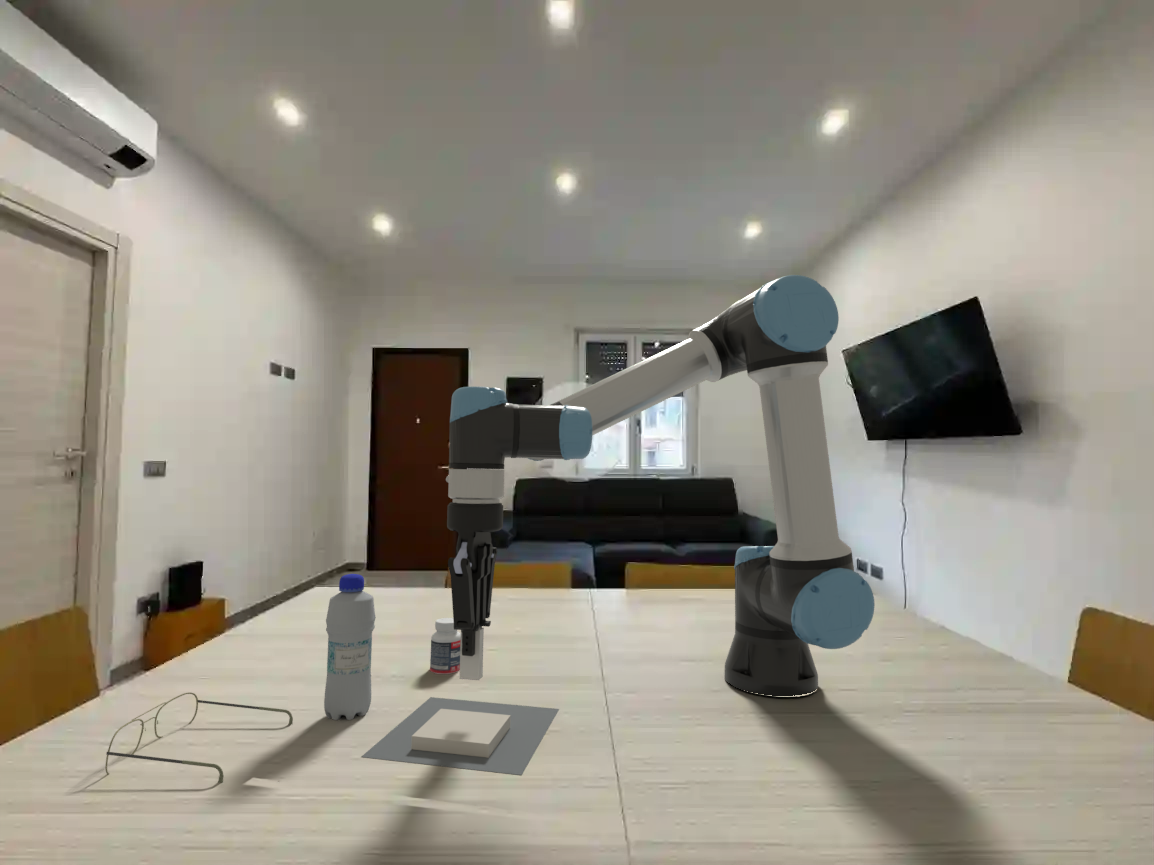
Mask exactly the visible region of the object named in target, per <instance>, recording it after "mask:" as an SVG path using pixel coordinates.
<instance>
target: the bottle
mask: <svg viewBox="0 0 1154 865" xmlns="http://www.w3.org/2000/svg"><path fill="white" fill-rule="evenodd" d="M364 589H365V579H364V576H363V575H361V574H356V573H348V574H344V575H342V576H341V578H340V579H339V583H338V591H340V592H339V593H337V594H335V595H333V596H331V597H330V599H329V601H328V608H327V614H326V619H325V623H326V624H325V625H326V629H325V630H326V631H325V632H326V633H327V637H328V638H327V642H328V643H327V658H326V659H327V660H326V661H327V663H326V682H325V689H324V700H323V708H324V713H325V716H326V718H327V719H329V720H333V721H338V720H340V719H341V718H342V716H345V719H346V720H347V721H348V720H353V719H354V717H355V716H356V715H357V716H360V717H363V716H366V714H367V712H368V711H369V709H370V706H371V704H372V703H371V702H372V672H371V671H372V650H373V649H372V647H373V646H372V645H373V632H374V629H375V626H376V625H375V622H376V613H375V612H376V610H375V599H374V596H373V595H372V594H370V593H368V592H366V591H364Z"/></svg>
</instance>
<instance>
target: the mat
mask: <svg viewBox="0 0 1154 865" xmlns="http://www.w3.org/2000/svg"><path fill="white" fill-rule="evenodd" d="M440 709H450V710H461V711H471V712H482V713H492V714H503V715H511V719H510V729H509V730H508V731H507V733H506V734H505V735H504V737H503V738H502V740H501V741H500V742H499V744H498V745H497V747H496V748H495V749H494V751H493V752H492V754H491V755H490V756H489V758H486V757H477V756H468V755H459V754H450V753H441V752H432V751H422V750H413V749H411V743H412V735H413V734H414V733H415V732H417V731H418V730H419V729H420V728H421V727H422V726H423V725H424V724H425V723H426V722H427V721H428V720H429V719H430V718H431V717H433V716H434V715H435V714H436V713H437V712H438V711H439V710H440ZM559 710H560V708H555V707H554V708H553V707H544V706H541V707H540V706H532V705H531V706H530V705H520V704H519V705H518V704H511V703H497V702H487V701H478V700H477V701H476V700H465V699H454V698H443V697H434V696H433V697H432V696H430V697H429V698H427V699H426V701H424V702H423V703H422V704H420V706H418V707H417V708H416V709H415V710H414V711H413V712H412V713H410V714H409V715H408V716H407V717H406V718H404V719H403V720H402V721H401V722H400V723H398V725H397V726H395V727H394V728H393V729H392V730H390V732H388V733H387V734H386V735H385V736H384V737H382V738H381V739H380V740H379V741H377V743H375V744H374V745H373V746H371V747H370V748H369V749H368V750H367V751H366V752H365V753H363V755H361V757H360V758H366V759H375V760H383V761H392V762H401V763H408V764H409V763H410V764H420V765H426V766H436V767H445V768H451V769H452V768H453V769H454V768H456V769H463V770H471V771H480V772H488V773H499V774H505V775H507V774H508V775H515V776H522V775H524V772H525V770H526V768H527V766H528V765H529V763H530V761H531V759H532V758H533V756H534V754H535V752H536V751H537V749H538V747H539V745H540V744H541V742H542V740H543V739H544V737H545V735H546V733H547V731H548V730H549V728H550V726H551V724H552V723H553V721H554V719H555V717H556V716H557V714H558V712H559Z"/></svg>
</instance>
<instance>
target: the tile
mask: <svg viewBox="0 0 1154 865" xmlns="http://www.w3.org/2000/svg"><path fill="white" fill-rule="evenodd" d="M510 719H511V715H503V714H492V713H482V712H471V711H461V710H450V709H440V710H439V711H438V712H437V713H436V714H435V715H434V716H433V717H431V718H430V719H429V720H428V721H427V722H426V723H425V724H424V725H423V726H422V727H421V728H420V729H419V730H418V731H417V732H415V733H414V734H413V735H412V743H411V749H413V750H422V751H432V752H441V753H450V754H459V755H468V756H477V757H486V758H489V756H490V755H491V754H492V752H493V751H494V749H495V748H496V747H497V745H498V744H499V742H500V741H501V740H502V738H503V737H504V735H505V734H506V733H507V731H508V730H509V729H510Z"/></svg>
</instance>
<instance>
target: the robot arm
mask: <svg viewBox="0 0 1154 865" xmlns="http://www.w3.org/2000/svg"><path fill="white" fill-rule="evenodd" d="M839 318H840V317H839V309H838V306H837V305H836V301H835V300H834V297H833V295H832V294H831V293H830V291H829V290H828V289H827V288H826V287H824V286H823V285H821V284H820V283H819V282H818V281H817V280H815V279H813V278H811V277H808V276H806V275H802V274H800V275H799V274H788V275H785V276H782V277H778V278H776V279H774V280H770V281H768V282H766V283H764V284H763V285H761V287H759V288H758V289H756V290H755V291H753V292H752V293H750V294H748V295H746V296H745V297H743V298H741V299H739V300H737V301H736V302H735V303H733V304H731V305H730V306H729V307H728V308H726V309H725V310H723V311H722V312H721V313H720V314H718V315H717V316H715V317H714V318H712V319H711V320H709V321H707V322H706V323H704V324H703V325H701V326H699V327H696V328H695V329H694V328H693V329H692V330H691V331H689V332H688V336H687V339H685V340H683V341H682V342H680V343H676V344H675V345H673V346H671V347H669V348H667V349H664V350H662V351H661V352H658V353H656V354H654V355H652V356H649V357H646V359H644V360H642V361H639V362H637V363H635V364H633V365H631V366H628V367H627V368H625V369H623V370H620V371H618V372H616V373H614V374H612V375H610V376H608V377H605V378H603V379H600V380H599V381H597V382H595V383H593V384H591V385H589V386H587V387H584V388H582V389H581V390H579V391H576V392H573V393H572V394H570V395H567V396H566V397H564V398H561V399H559V400H557V401H556V402H554V403H551V404H549V405H544V404H542V405H541V404H517V403H510V402H508V399H507V393H506V391H505V390H503V389H502V388H498V387H490V386H463V387H459V388H457V389H456V390H454V391H453V393H452V396H451V401H450V402H451V404H450V416H449V443H448V444H449V446H448V448H449V450H448V452H449V454H448V455H449V456H448V463H449V464H448V475H447V476H446V478H445V481H446V483H448V491H447V492H448V494H447V496H448V498H450V500H451V499H452V502H451V501H450V502H449V503H448V504H447V508H446V509H447V511H446V516H447V518H446V527H447V529H448V530H450V531H452V532H457V533H458V537H457V542H456V545H455V557H449V558H448V560H447V567H448V572H449V575H450V583H451V585H450V587H451V588H450V589H451V601H452V602H451V603H452V604H451V605H452V616H453V617H452V618H453V619H454V630H457V631H458V630H459V631H460V633H461V642H460V670H459V676H458V677H459V679H460V680H469V681H480V680H481V679H482V678H483V674H484V673H483V672H484V671H483V669H484V668H483V667H484V639H485V638H484V637H485V636H484V633H485V627H488V628H489V627H490V626H491V623H492V621H491V620H487V619H489V618H490V616H491V607H492V596H493V586H494V575H495V567H496V566H495V564H496V560H497V556H498V548H497V547H494V546H493V543H492V536H491V534H492V532H498V531H500V530H502V529H503V527H504V504H503V503H502V502H500V500H502V499H503V498H505V459H506V458H511V459H517V458H519V459H528V460H532V461H535V462H541V461H543V460H564V461H570V460H580V459H581V460H583V459H585V458H587V457H588V456H589V454H590V452H591V448H592V444H593V436H595V435H596V434H599V433H601V432H603V431H604V430H607V429H608V428H611V427H613V426H615V425H617V424H620V423H621V422H624V421H625V420H627V419H630V418H631V417H633V416H635V415H638V414H639V413H641V412H644V411H646V410H648V409H650V408H652V407H654V406H656V405H658V404H659V403H662V402H664V401H666V400H668V399H670V398H672V397H674V396H677V395H679V394H681V393H683V392H684V391H686V390H688V389H690V388H691V389H692V388H693V387H696V386H697V385H699V384H702V383H703V382H705V381H708V382H710V383H716V382H718V381H721V380H722V379H725V378H726V377H729V376H732V375H735V374H739V373H742V372H745V371H747V377H748V378H750V379H751V380H752V381H754V382H755V383H756V384H757V385H758V386H759V394H760V403H761V404H760V405H761V412H762V418H763V427H764V428H763V429H764V435H765V444H766V451H767V460H768V468H769V477H770V485H771V493H772V500H773V501H772V503H773V508H774V509H773V510H774V520H775V524H776V525H775V527H776V534H777V542H776V543H775V545H767V546H766V545H765V546H764V545H760V546H759V545H755V546H752V545H751V546H740V547H739V548H738V549H737V550H736V553H735V559H734V566H733V567H734V568H733V569H734V613H735V614H734V635H733V639H732V641H731V645H730V648H729V650H728V653H727V656H726V659H725V662H724V680H725V682H726V681H727V682H728V683H730V684H731V685H733V686H735V687H737V688H740V689H742V690H745V691H748V692H753V693H758V694H764V695H772V696H793V695H794V696H795V695H802V694H807V693H811V692H813V691H815V690H816V689H817V688H818V689H819V674H818V670H817V667H816V665H815V661H814V658H813V655H812V652H811V650H810V645H812V646H817V647H819V648H821V649H826V650H837V649H838V650H839V649H843V648H846V647H849V646H851V645H852V644H855V642H857V641H858V640H859V639H860V638H861V637H862V635H863V634H864V632H865V631H867V630H868V629H869V627H870V624H871V623H872V621H873V617H874V612H875V605H876V604H875V597H874V592H873V590H872V588H871V586H870V584H869V582H868V581H867V580H865V579H864V577H863V576H861V574H860V573H858V572H856V571H855V568H854V567H855V566H854V560H853V559H854V558H853V552H852V548H851V547H850V546H849V545H848V544H847V543H845V542H844V541H843V540H842V539H840V537H839V529H838V521H837V514H836V506H835V498H834V488H833V482H832V473H831V465H830V458H829V449H828V440H827V433H826V426H825V416H824V409H823V400H822V394H821V392H822V391H821V384H820V377H821V375H822V374H823V372H824V371H825V370H826V368H827V367H828V366H829V360H828V351H827V345H828V344H829V343H830V341H832V339H833V336H834V335H835V334H836V333H837V330H838V326H839ZM728 683H727V684H728ZM730 684H729V685H730ZM731 685H730V686H731ZM733 686H732V687H733ZM735 687H734V688H735ZM737 688H736V689H737ZM742 690H741V691H742ZM745 691H744V692H745ZM748 692H747V693H748Z"/></svg>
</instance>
